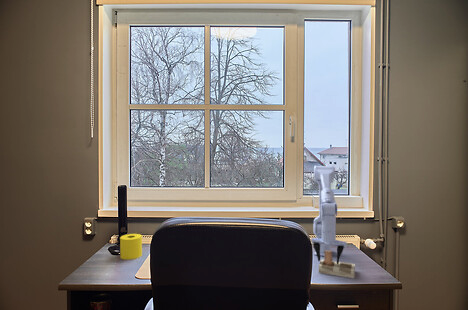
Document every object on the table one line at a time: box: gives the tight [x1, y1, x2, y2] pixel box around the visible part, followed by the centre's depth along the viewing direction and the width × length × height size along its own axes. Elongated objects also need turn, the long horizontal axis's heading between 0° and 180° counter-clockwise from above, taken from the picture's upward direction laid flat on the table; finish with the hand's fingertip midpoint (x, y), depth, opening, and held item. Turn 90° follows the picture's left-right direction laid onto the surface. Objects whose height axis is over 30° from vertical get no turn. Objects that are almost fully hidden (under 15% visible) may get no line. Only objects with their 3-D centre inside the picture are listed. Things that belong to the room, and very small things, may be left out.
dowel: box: [323, 251, 333, 266], centre depth 129 cm, size 3×3×7 cm
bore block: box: [318, 258, 356, 279], centre depth 128 cm, size 8×14×3 cm, turn 66°
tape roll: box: [119, 233, 143, 261], centre depth 146 cm, size 10×10×9 cm
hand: (328, 261), depth 129 cm, fingers open, 7 cm apart
